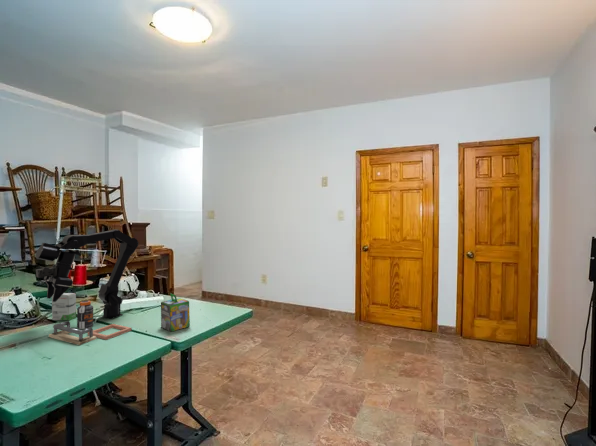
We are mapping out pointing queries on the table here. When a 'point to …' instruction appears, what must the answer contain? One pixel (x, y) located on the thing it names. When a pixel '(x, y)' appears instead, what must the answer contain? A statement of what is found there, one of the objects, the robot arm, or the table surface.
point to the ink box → (64, 307)
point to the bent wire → (72, 329)
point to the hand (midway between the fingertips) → (51, 299)
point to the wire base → (71, 338)
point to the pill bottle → (85, 315)
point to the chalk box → (175, 314)
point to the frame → (102, 336)
